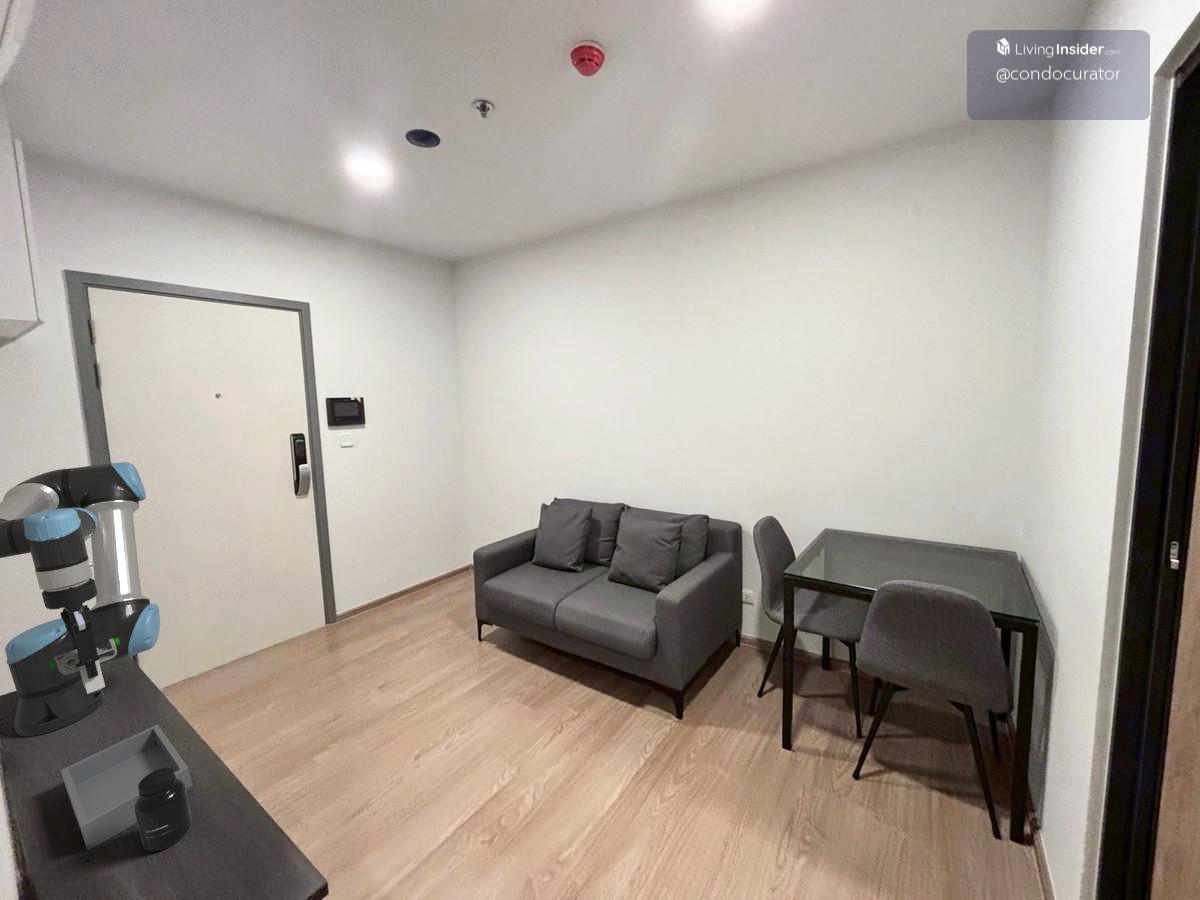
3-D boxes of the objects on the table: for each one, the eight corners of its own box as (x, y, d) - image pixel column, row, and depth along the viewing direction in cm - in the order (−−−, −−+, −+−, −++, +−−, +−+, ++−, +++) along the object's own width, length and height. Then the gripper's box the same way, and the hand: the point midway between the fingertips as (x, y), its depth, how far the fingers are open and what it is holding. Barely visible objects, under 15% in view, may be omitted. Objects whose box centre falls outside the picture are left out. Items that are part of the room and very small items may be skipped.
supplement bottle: (152, 860, 84) (136, 801, 82) (137, 842, 88) (122, 784, 86) (200, 828, 90) (186, 771, 88) (185, 811, 94) (171, 756, 91)
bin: (66, 791, 100) (60, 770, 99) (162, 743, 111) (157, 724, 110) (87, 851, 87) (80, 827, 86) (193, 789, 98) (188, 768, 97)
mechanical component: (129, 680, 109) (119, 638, 107) (62, 707, 101) (50, 662, 99) (126, 676, 111) (116, 635, 109) (60, 702, 102) (48, 658, 101)
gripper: (100, 585, 100) (126, 689, 104) (87, 569, 109) (111, 666, 113) (45, 600, 94) (75, 710, 98) (36, 582, 103) (63, 683, 107)
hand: (94, 686), depth 105 cm, fingers closed on mechanical component, 3 cm apart
